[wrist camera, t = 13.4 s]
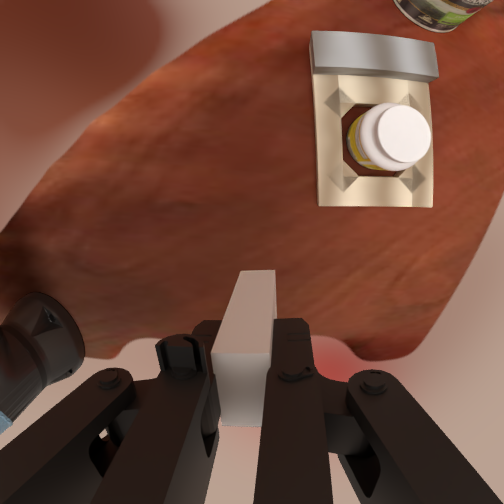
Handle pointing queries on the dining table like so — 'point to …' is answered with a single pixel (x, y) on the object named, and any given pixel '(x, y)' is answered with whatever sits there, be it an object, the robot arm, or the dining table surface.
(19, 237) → the dining table surface
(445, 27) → the coffee can
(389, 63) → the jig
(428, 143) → the pill bottle
